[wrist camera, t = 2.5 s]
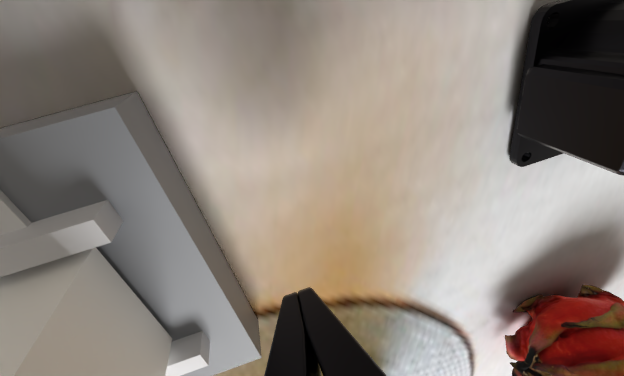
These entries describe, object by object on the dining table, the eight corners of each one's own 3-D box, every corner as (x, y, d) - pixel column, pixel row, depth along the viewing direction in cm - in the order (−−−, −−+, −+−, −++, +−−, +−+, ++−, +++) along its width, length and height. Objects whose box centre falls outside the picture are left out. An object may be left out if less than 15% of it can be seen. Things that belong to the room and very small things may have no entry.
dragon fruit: (576, 297, 26) (454, 286, 24) (711, 283, 18) (551, 266, 16) (617, 417, 22) (476, 416, 20) (809, 460, 15) (616, 466, 13)
